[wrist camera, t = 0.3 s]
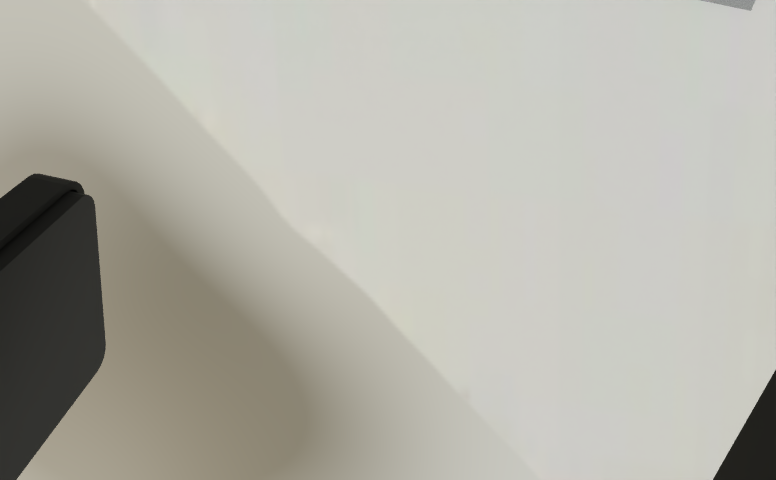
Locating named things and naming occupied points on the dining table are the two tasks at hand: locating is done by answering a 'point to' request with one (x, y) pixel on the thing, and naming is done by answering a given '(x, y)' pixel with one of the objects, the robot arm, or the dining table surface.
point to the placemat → (735, 3)
